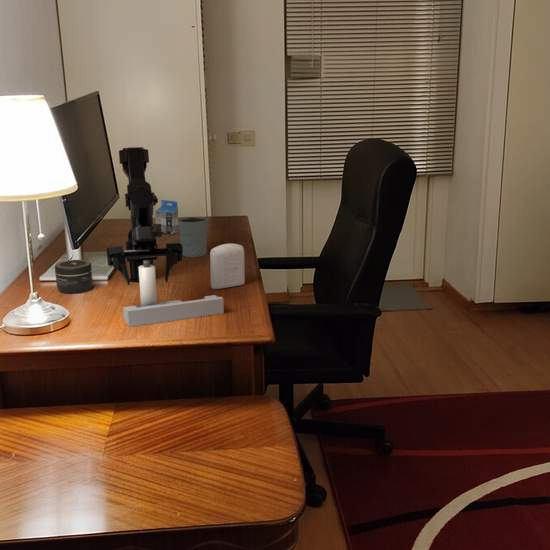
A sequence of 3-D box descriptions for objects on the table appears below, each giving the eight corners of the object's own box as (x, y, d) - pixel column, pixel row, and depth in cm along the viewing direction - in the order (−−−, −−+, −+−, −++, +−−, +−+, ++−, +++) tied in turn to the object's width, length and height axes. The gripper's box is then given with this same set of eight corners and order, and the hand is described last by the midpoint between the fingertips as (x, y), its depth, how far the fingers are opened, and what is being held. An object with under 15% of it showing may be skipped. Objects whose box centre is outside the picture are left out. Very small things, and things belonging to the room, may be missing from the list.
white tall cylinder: (140, 319, 170) (137, 263, 166) (142, 314, 174) (139, 258, 170) (156, 319, 170) (153, 262, 166) (158, 313, 174) (155, 258, 170)
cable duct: (129, 326, 165) (128, 311, 164) (123, 318, 171) (122, 303, 170) (223, 313, 174) (223, 298, 173) (215, 305, 180) (215, 291, 179)
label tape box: (155, 232, 268) (153, 200, 264) (163, 230, 271) (161, 199, 267) (172, 234, 263) (170, 203, 259) (179, 232, 266) (178, 201, 263)
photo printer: (239, 281, 201) (238, 240, 198) (247, 284, 198) (246, 243, 195) (208, 287, 196) (207, 245, 193) (215, 290, 193) (214, 248, 189)
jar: (76, 282, 202) (73, 257, 199) (100, 287, 197) (98, 261, 194) (49, 291, 193) (46, 265, 191) (74, 296, 188) (72, 270, 186)
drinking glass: (184, 258, 227) (182, 223, 224) (175, 252, 236) (173, 217, 233) (213, 255, 231) (211, 220, 228) (203, 249, 240) (202, 215, 237)
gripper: (104, 214, 168) (107, 269, 161) (180, 210, 172) (186, 264, 165) (106, 238, 178) (109, 291, 170) (178, 234, 182) (184, 286, 175)
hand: (147, 283), depth 170 cm, fingers open, 9 cm apart
